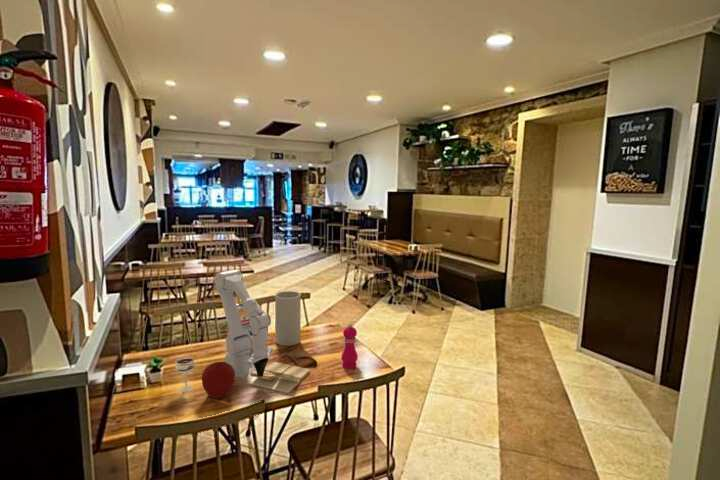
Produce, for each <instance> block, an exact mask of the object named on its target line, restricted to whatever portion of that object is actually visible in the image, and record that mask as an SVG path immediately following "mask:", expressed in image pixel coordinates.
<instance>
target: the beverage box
mask: <svg viewBox="0 0 720 480" xmlns="http://www.w3.org/2000/svg"><path fill="white" fill-rule="evenodd" d="M236 306H237V310H238V314H239V317H240V321H241V324H242V328H243V329H245V330H247V331H249V334H250V336H251V337H252V339H253V334H252V329H251V326H250V319H249V317H248V315H247V314H246V312H245V311H244V309H243V307H242V306H243V302H241V303H236ZM229 333H230V330H229V329H228V334H229ZM239 337H242V336H238V337H235V338H234V339H236V338H239ZM251 350H252V351H253V347H252V348H251V349H250V351H251Z"/></svg>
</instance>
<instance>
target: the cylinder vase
mask: <svg viewBox="0 0 720 480" xmlns="http://www.w3.org/2000/svg"><path fill="white" fill-rule="evenodd" d="M274 297H275V301H274V303H275V305H274V306H275V311H274V312H275V343H276V344H277V345H279V346H281V347H292V346H296V345H297V344H299V343H300V342H301V318H302V317H301V310H302V309H301V306H302V305H301V300H302V299H301V298H302V297H301V293H300V292H298V291H293V290H292V291H291V290H289V291H288V290H287V291H286V290H285V291H280V292H277V293H275V296H274Z"/></svg>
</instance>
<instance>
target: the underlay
mask: <svg viewBox="0 0 720 480" xmlns="http://www.w3.org/2000/svg"><path fill="white" fill-rule="evenodd" d="M311 372H312V371H311V370H310V372H309V373H308V374H310V373H311ZM308 374H307V375H308ZM299 383H300V382H299V381H294V380H290V379H285V378H281V377H279V378H275V379H271V380H267V379H263V378H258V377H254V376H252V378H250V379H249V380H248V381H247V382H246V384H248V385H251V386H252V385H253V386H256V387H257V386H258V387H261V388H264V389H269V390H273V391H278V392H282V393H287V394H288V393H290V392H292V390H293V389H294V388H295V387H296V386H297V385H298V384H299Z"/></svg>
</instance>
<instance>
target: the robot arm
mask: <svg viewBox="0 0 720 480" xmlns="http://www.w3.org/2000/svg"><path fill="white" fill-rule="evenodd" d="M214 285H215V289H216V292H217V294H219V296H220V300H221V303H222V306H223V310H224V315H225V318H226V321H227V325H228V326H227V327H228V331H229V330H230V333H229V332H228V335H227V336H226V338H225V343H226V344H225V347H226V351H227V353H226V355H225V359H224V362H225V363H228V364H230V365H231V366H233V369H234V371H235V377H237V378H244V377H246V376H247V375H248V374H251V372H253V371H254V368H255V372H256V371H257V375H258V376H259V377H262V376H263V374H264V370H265V367H267V364H268V362H269V358H270V357H271V354H272V353H273V352H274V350H273V349H274V348H273V347H271V346H269V343H268V342H269V329H268V328H269V327H270V326H271V324H272V319H271V315H270V313H268V312H266V311H265V310H263V309H262V308H261V306H260V305H259V303H258V302H257V300H256V298H252V297H251V296H250V294H249V292H248V290H247V288H246V286H245V285H244V276H243V275H242V272H241V271H240V270H239V269H234V270H228V271H227V270H226V271H222V272H217V273H215V277H214ZM234 293H235V294H236V296H237V297H238V298H239V300H240V301H241V303H243V306H242V307H243V309H244V311H245V312H246V314H247V315H248V317H249V319H250V326H251V329H252V334H253V339H252V337H251V336H250V334H249V331H247V330H245V329H243V328H242V324H241V321H240V317H239V314H238V310H237V306H236V304H237V303H236V300H235V296H234ZM238 336H242V337H239V338H236V339H234V338H235V337H238ZM252 347H253V350H252V354H251V356H250V352H251V350H250V349H251V348H252ZM253 366H254V368H252V367H253Z"/></svg>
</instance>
